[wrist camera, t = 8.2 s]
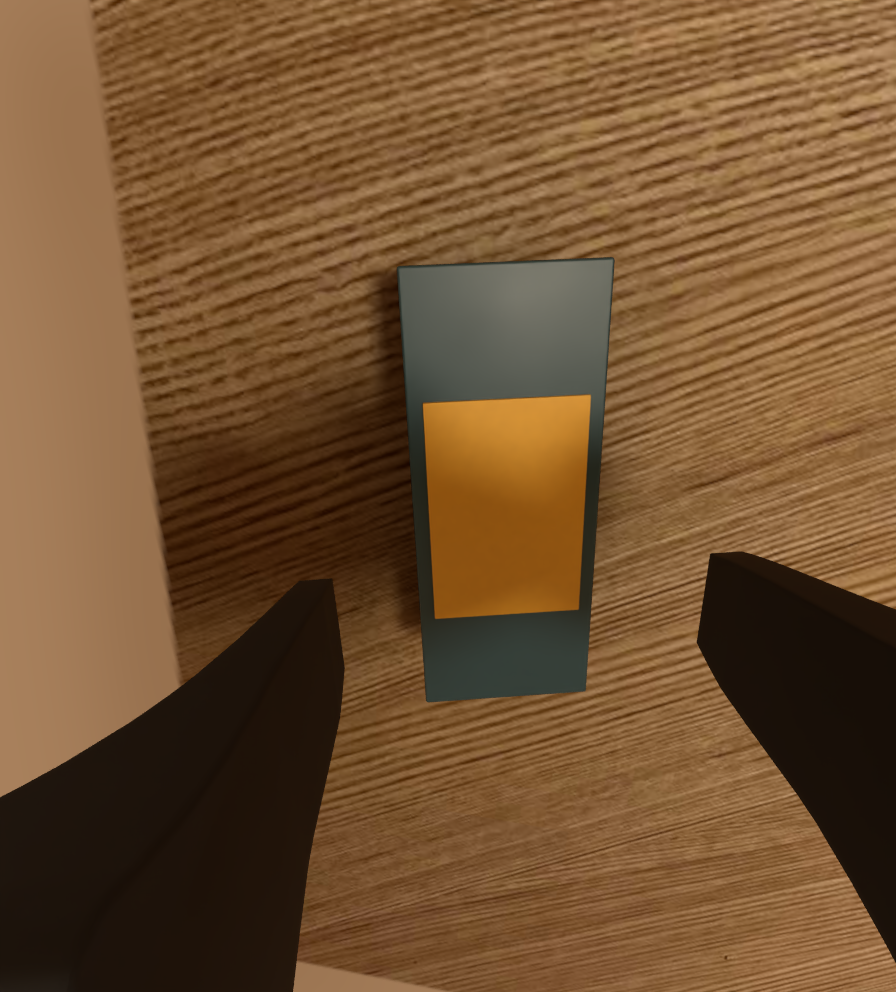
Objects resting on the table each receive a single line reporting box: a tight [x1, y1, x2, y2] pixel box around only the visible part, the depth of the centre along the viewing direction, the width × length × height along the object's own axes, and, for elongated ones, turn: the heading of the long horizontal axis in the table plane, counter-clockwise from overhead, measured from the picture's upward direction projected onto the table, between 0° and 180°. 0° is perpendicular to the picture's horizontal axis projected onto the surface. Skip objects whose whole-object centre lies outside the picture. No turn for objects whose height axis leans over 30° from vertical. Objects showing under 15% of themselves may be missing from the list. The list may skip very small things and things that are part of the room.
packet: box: [397, 257, 615, 702], centre depth 16 cm, size 12×5×4 cm, turn 2°
